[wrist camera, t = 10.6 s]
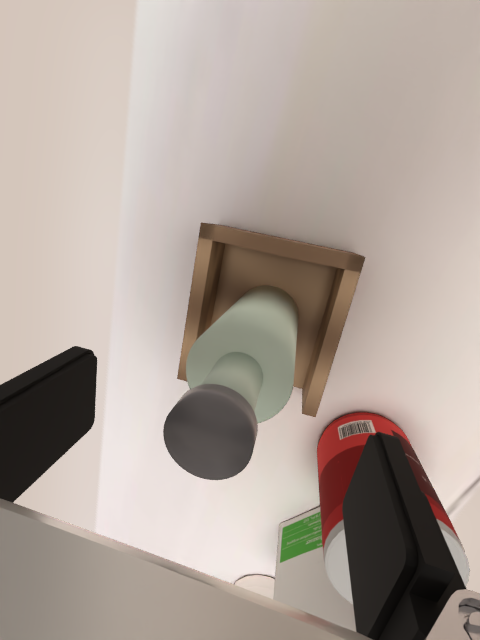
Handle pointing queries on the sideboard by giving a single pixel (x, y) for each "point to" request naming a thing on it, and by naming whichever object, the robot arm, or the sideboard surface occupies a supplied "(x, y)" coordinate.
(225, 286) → the u rest
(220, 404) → the bottle
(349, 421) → the canned food
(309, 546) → the skincare box
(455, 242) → the sideboard surface
